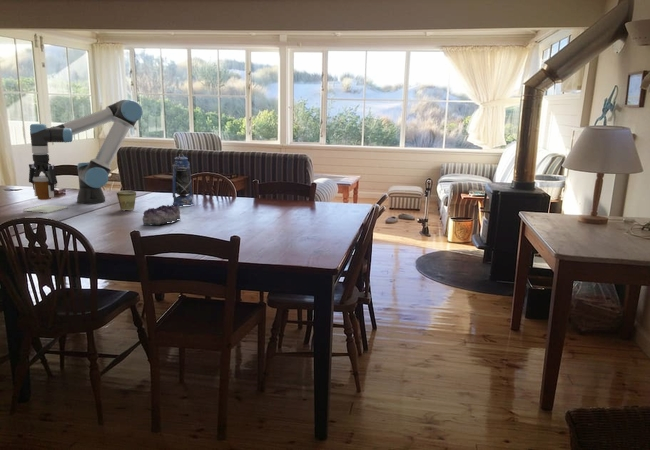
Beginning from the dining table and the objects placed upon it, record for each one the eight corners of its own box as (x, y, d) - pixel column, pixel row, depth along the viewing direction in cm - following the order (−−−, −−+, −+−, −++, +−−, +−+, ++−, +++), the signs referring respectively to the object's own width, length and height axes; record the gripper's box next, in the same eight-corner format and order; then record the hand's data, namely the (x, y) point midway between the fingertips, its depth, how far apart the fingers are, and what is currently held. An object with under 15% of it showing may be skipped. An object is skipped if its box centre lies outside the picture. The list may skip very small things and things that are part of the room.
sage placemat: (68, 207, 273) (67, 206, 273) (48, 213, 259) (47, 212, 259) (44, 206, 276) (44, 205, 276) (23, 211, 262) (23, 210, 262)
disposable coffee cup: (48, 200, 261) (46, 178, 259) (30, 200, 261) (28, 177, 259) (58, 197, 271) (56, 175, 268) (40, 197, 271) (38, 175, 268)
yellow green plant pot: (130, 212, 267) (129, 194, 265) (113, 211, 269) (112, 192, 267) (143, 207, 279) (142, 190, 277) (127, 206, 281) (126, 189, 279)
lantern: (181, 208, 282) (179, 155, 275) (165, 205, 287) (163, 153, 280) (200, 204, 295) (198, 153, 288) (184, 201, 301) (182, 152, 294)
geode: (168, 217, 258) (170, 199, 255) (185, 223, 253) (187, 204, 250) (137, 223, 240) (138, 203, 238) (154, 230, 235) (156, 209, 233)
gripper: (63, 154, 262) (66, 196, 267) (28, 152, 266) (32, 194, 271) (52, 155, 255) (56, 199, 260) (17, 153, 259) (22, 196, 264)
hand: (44, 196), depth 266 cm, fingers closed on disposable coffee cup, 8 cm apart
